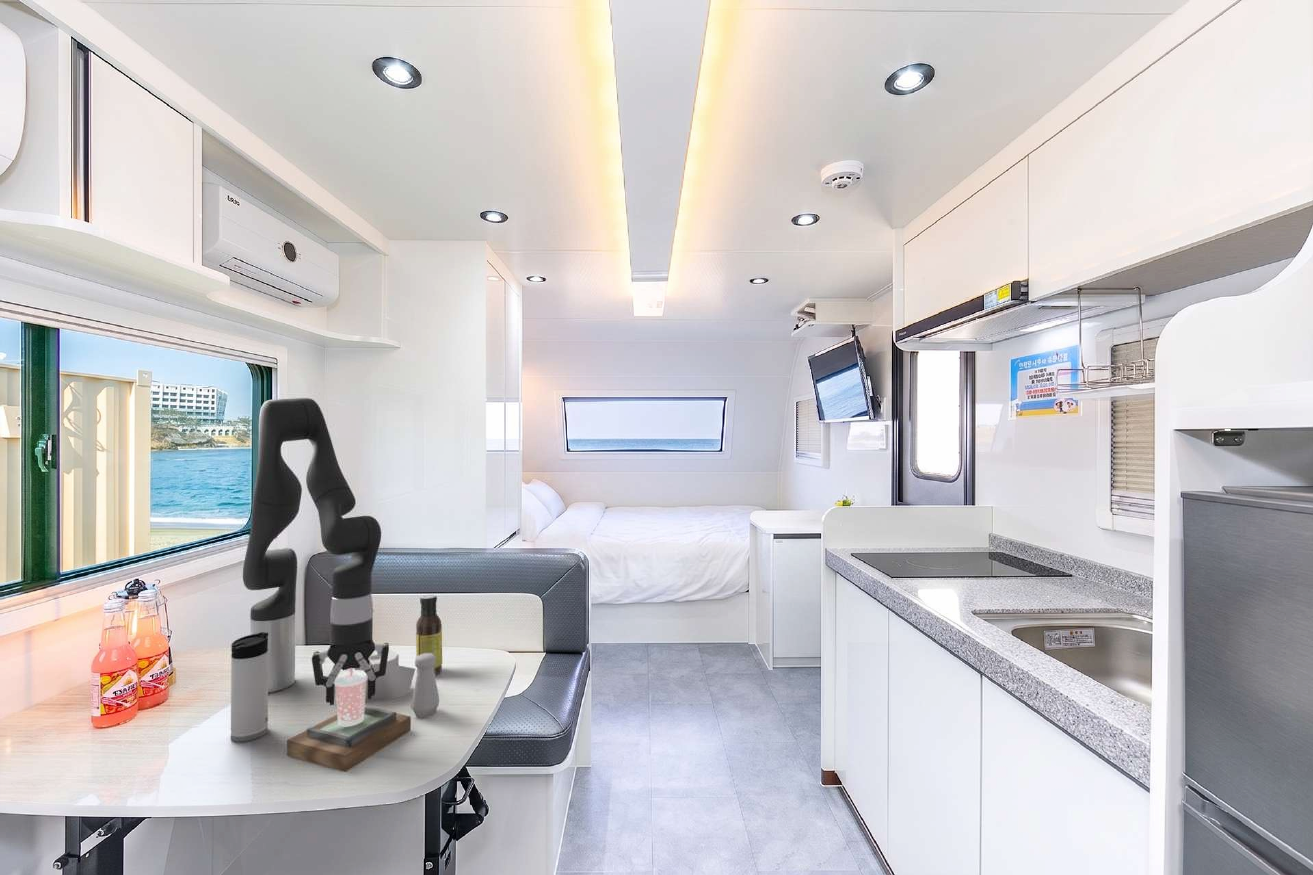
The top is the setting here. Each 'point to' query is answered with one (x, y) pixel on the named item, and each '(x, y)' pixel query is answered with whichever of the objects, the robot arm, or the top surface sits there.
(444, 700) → the top surface
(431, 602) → the sauce bottle
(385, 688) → the toilet tissue
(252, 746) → the top surface
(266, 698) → the travel mug
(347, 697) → the beverage cup
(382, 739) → the dock
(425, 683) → the salt shaker
